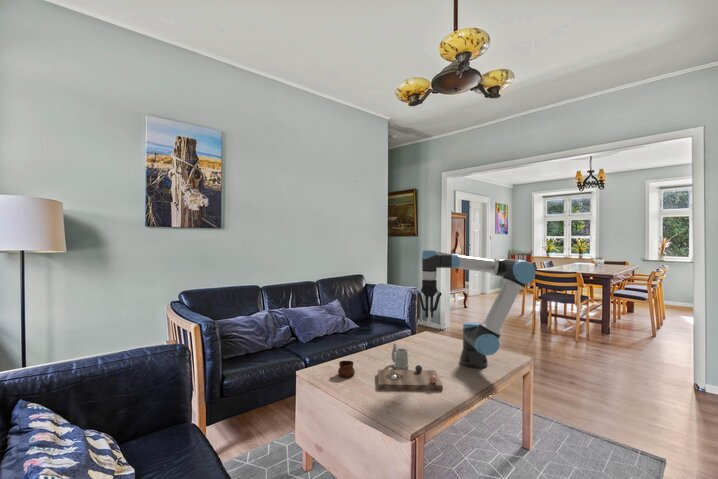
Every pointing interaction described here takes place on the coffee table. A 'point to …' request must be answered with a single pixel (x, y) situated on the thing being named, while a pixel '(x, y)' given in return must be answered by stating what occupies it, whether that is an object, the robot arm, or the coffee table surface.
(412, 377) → the deck
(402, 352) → the mug
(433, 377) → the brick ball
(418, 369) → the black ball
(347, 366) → the ceramic pot
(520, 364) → the coffee table surface
